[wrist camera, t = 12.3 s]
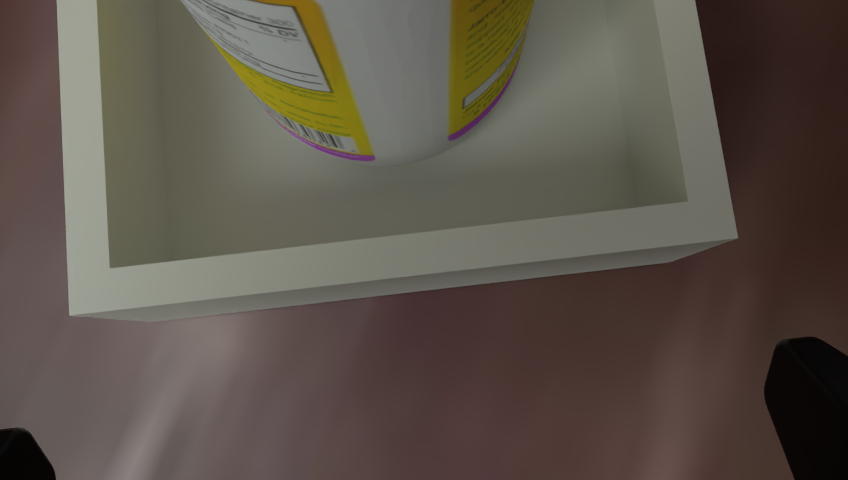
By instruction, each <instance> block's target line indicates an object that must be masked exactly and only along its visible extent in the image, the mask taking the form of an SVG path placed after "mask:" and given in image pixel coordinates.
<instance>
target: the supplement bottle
mask: <svg viewBox="0 0 848 480" xmlns="http://www.w3.org/2000/svg"><path fill="white" fill-rule="evenodd" d="M180 1H181V2H182V3H183V5H184V6H185V7H186V8H187V10H188V11H189V12H190V14H191V15H192V16H193V18H194V19H195V20H196V22H197V23H198V24H199V26H200V27H201V28H202V30H203V31H204V32H205V33H206V35H207V36H208V37H209V39H210V40H211V41H212V43H213V44H214V45H215V46H216V48H217V49H218V50H219V52H220V53H221V54H222V55H223V57H224V58H225V59H226V60H227V62H228V63H229V64H230V66H231V67H232V68H233V70H234V71H235V72H236V74H237V75H238V76H239V77H240V79H241V80H242V81H243V83H244V84H245V85H246V86H247V88H248V89H249V90H250V91H251V93H252V94H253V95H254V97H255V98H256V99H257V101H258V102H259V103H260V104H261V106H262V107H263V108H264V109H265V110H266V112H267V113H268V114H269V115H270V116H271V117H272V118H273V119H274V120H275V121H276V122H277V123H278V124H279V125H280V126H281V127H282V128H283V129H284V130H285V131H286V132H288V133H289V134H290V135H291V136H293V137H294V138H295V139H297V140H298V141H300V142H301V143H303V144H304V145H306V146H308V147H309V148H311V149H313V150H315V151H317V152H319V153H321V154H323V155H326V156H328V157H331V158H333V159H337V160H340V161H343V162H347V163H352V164H357V165H366V166H395V165H404V164H409V163H414V162H418V161H421V160H424V159H427V158H430V157H433V156H435V155H438V154H440V153H442V152H444V151H446V150H448V149H450V148H452V147H453V146H455V145H456V144H458V143H460V142H461V141H463V140H464V139H466V138H467V137H468V136H470V135H471V134H472V133H473V132H475V131H476V130H477V129H478V128H479V127H480V126H481V125H482V124H483V123H484V122H485V121H486V120H487V119H488V118H489V116H490V115H491V114H492V113H493V112H494V110H495V109H496V108H497V106H498V105H499V103H500V102H501V100H502V99H503V97H504V95H505V94H506V92H507V90H508V88H509V86H510V84H511V82H512V79H513V76H514V74H515V71H516V68H517V65H518V62H519V58H520V55H521V52H522V48H523V44H524V40H525V37H526V33H527V29H528V26H529V22H530V17H531V12H532V8H533V4H534V0H180Z"/></svg>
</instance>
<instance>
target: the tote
mask: <svg viewBox="0 0 848 480" xmlns="http://www.w3.org/2000/svg"><path fill="white" fill-rule="evenodd" d="M57 18H58V43H59V68H60V93H61V118H62V143H63V168H64V192H65V217H66V242H67V267H68V292H69V316H83V317H96V318H109V319H122V320H136V321H149V322H158V321H166V320H175V319H184V318H192V317H201V316H210V315H218V314H227V313H236V312H244V311H253V310H262V309H270V308H279V307H288V306H296V305H305V304H314V303H322V302H331V301H340V300H348V299H357V298H366V297H374V296H383V295H392V294H400V293H409V292H418V291H426V290H435V289H444V288H452V287H461V286H470V285H478V284H487V283H496V282H504V281H513V280H522V279H530V278H539V277H548V276H556V275H565V274H574V273H582V272H591V271H600V270H608V269H617V268H625V267H634V266H643V265H651V264H660V263H669V262H672V261H675V260H678V259H680V258H683V257H686V256H689V255H692V254H695V253H698V252H700V251H703V250H706V249H709V248H712V247H715V246H717V245H720V244H723V243H726V242H729V241H732V240H735V239H737V238H738V235H737V229H736V224H735V218H734V213H733V207H732V202H731V196H730V191H729V185H728V179H727V174H726V168H725V163H724V157H723V152H722V146H721V141H720V135H719V130H718V124H717V119H716V113H715V108H714V102H713V97H712V91H711V86H710V80H709V75H708V69H707V64H706V58H705V52H704V47H703V41H702V36H701V30H700V25H699V19H698V14H697V8H696V3H695V0H534V4H533V8H532V12H531V17H530V22H529V26H528V29H527V33H526V37H525V40H524V44H523V48H522V52H521V55H520V58H519V62H518V65H517V68H516V71H515V74H514V76H513V79H512V82H511V84H510V86H509V88H508V90H507V92H506V94H505V95H504V97H503V99H502V100H501V102H500V103H499V105H498V106H497V108H496V109H495V110H494V112H493V113H492V114H491V115H490V116H489V118H488V119H487V120H486V121H485V122H484V123H483V124H482V125H481V126H480V127H479V128H478V129H477V130H476V131H475V132H473V133H472V134H471V135H470V136H468V137H467V138H466V139H464V140H463V141H461V142H460V143H458V144H456V145H455V146H453V147H452V148H450V149H448V150H446V151H444V152H442V153H440V154H438V155H435V156H433V157H430V158H427V159H424V160H421V161H418V162H414V163H409V164H404V165H395V166H366V165H357V164H352V163H347V162H343V161H340V160H337V159H333V158H331V157H328V156H326V155H323V154H321V153H319V152H317V151H315V150H313V149H311V148H309V147H308V146H306V145H304V144H303V143H301V142H300V141H298V140H297V139H295V138H294V137H293V136H291V135H290V134H289V133H288V132H286V131H285V130H284V129H283V128H282V127H281V126H280V125H279V124H278V123H277V122H276V121H275V120H274V119H273V118H272V117H271V116H270V115H269V114H268V113H267V112H266V110H265V109H264V108H263V107H262V106H261V104H260V103H259V102H258V101H257V99H256V98H255V97H254V95H253V94H252V93H251V91H250V90H249V89H248V88H247V86H246V85H245V84H244V83H243V81H242V80H241V79H240V77H239V76H238V75H237V74H236V72H235V71H234V70H233V68H232V67H231V66H230V64H229V63H228V62H227V60H226V59H225V58H224V57H223V55H222V54H221V53H220V52H219V50H218V49H217V48H216V46H215V45H214V44H213V43H212V41H211V40H210V39H209V37H208V36H207V35H206V33H205V32H204V31H203V30H202V28H201V27H200V26H199V24H198V23H197V22H196V20H195V19H194V18H193V16H192V15H191V14H190V12H189V11H188V10H187V8H186V7H185V6H184V5H183V3H182V2H181V1H180V0H57Z"/></svg>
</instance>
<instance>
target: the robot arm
mask: <svg viewBox="0 0 848 480" xmlns="http://www.w3.org/2000/svg"><path fill="white" fill-rule="evenodd" d="M764 396H765V402H766V405H767V408H768V411H769V414H770V416H771V419H772V421H773V424H774V427H775V429H776V432H777V435H778V437H779V440H780V443H781V445H782V448H783V451H784V453H785V456H786V458H787V461H788V464H789V466H790V469H791V472H792V474H793V477H794V480H848V356H847V355H845V354H844V353H842V352H840V351H839V350H837V349H836V348H834V347H832V346H831V345H829V344H828V343H826V342H824V341H823V340H821V339H819V338H816V337H801V338H792V339H784V340H781V341H780V342H779V343H778V344H777V345H776V347H775V349H774V353H773V356H772V360H771V364H770V367H769V371H768V374H767V378H766V382H765V386H764ZM0 480H56V477H55V472H54V469H53V466H52V465H51V463H50V462H49V460H48V459H47V457H46V456H45V454H44V453H43V451H42V450H41V448H40V447H39V445H38V444H37V442H36V441H35V439H34V437H33V436H32V434H31V433H30V432H29V431H28V430H26V429H24V428H9V429H1V430H0Z"/></svg>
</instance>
